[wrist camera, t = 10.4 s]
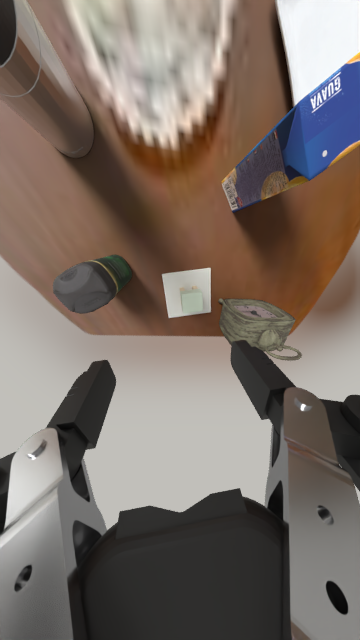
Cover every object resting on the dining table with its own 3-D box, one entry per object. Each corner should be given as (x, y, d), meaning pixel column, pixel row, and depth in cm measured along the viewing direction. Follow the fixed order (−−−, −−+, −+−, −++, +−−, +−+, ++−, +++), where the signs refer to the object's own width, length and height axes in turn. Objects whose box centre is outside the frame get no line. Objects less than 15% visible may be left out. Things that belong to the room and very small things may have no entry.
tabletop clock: (257, 296, 48) (337, 340, 26) (250, 320, 52) (313, 376, 30) (215, 294, 46) (262, 341, 24) (210, 320, 51) (247, 379, 29)
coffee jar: (119, 249, 38) (86, 254, 22) (136, 277, 42) (120, 299, 25) (88, 267, 39) (35, 285, 23) (108, 292, 43) (74, 324, 26)
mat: (161, 273, 42) (161, 274, 41) (210, 267, 42) (210, 268, 42) (168, 317, 48) (168, 318, 48) (210, 311, 49) (210, 312, 49)
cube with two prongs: (178, 287, 44) (181, 294, 38) (196, 284, 44) (202, 291, 38) (180, 304, 46) (183, 313, 40) (197, 301, 46) (202, 310, 40)
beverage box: (273, 182, 35) (412, 107, 15) (232, 213, 37) (309, 180, 17) (265, 146, 32) (424, -2, 12) (220, 182, 34) (298, 102, 14)
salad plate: (289, 157, 33) (302, 148, 30) (260, 1, 24) (274, -34, 21) (391, 80, 29) (417, 61, 26) (403, -141, 20) (446, -209, 17)
